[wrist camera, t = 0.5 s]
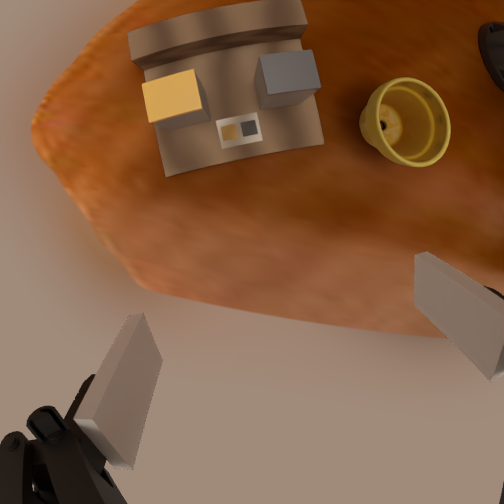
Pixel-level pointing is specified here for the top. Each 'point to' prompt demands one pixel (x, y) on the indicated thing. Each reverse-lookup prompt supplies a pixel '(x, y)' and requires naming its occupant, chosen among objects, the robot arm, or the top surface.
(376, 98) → the plant pot
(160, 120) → the button
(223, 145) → the console
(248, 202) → the top surface
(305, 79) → the button
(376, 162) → the top surface
